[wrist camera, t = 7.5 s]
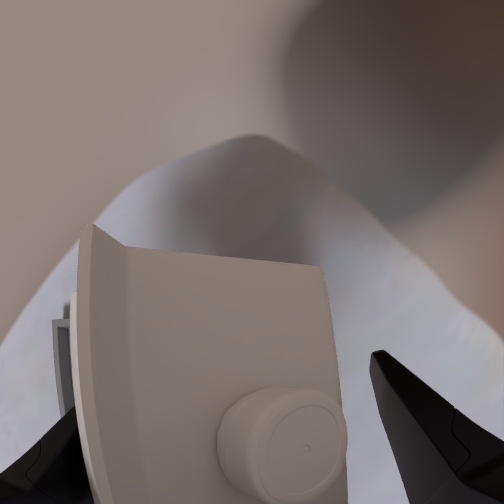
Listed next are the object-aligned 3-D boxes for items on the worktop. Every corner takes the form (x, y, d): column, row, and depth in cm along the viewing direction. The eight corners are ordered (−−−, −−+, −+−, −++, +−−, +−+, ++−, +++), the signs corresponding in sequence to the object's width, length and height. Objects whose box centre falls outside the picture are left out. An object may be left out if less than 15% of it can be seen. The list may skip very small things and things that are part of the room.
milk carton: (212, 427, 20) (16, 571, 2) (202, 332, 22) (-38, 256, 4) (312, 419, 19) (381, 628, 1) (301, 321, 22) (357, 179, 4)
